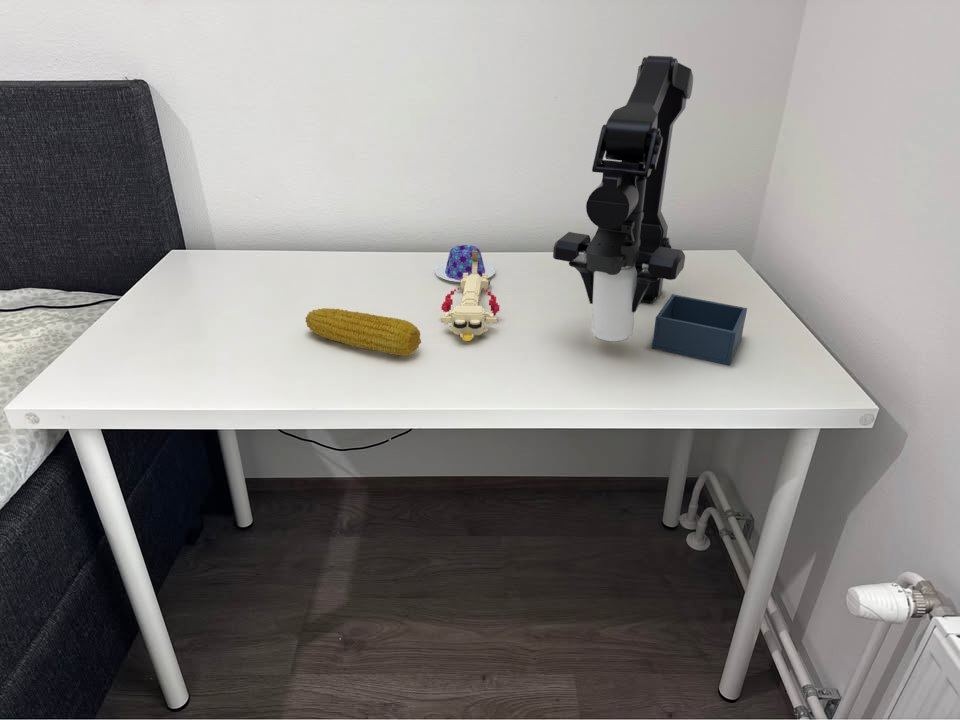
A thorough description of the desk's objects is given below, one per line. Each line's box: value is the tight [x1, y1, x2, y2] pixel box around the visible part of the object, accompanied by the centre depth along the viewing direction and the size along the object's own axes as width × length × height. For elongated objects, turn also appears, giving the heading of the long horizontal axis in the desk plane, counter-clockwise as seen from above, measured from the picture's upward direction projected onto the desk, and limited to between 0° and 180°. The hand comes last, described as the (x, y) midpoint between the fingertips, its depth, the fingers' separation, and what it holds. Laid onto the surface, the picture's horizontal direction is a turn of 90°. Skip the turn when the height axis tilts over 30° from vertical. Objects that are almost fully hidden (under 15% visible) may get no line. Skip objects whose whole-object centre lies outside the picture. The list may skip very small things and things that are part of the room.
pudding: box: [434, 244, 496, 283], centre depth 140 cm, size 12×12×5 cm
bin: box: [651, 293, 748, 366], centre depth 114 cm, size 12×10×6 cm
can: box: [591, 265, 637, 343], centre depth 109 cm, size 6×6×12 cm
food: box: [305, 307, 422, 357], centre depth 113 cm, size 21×6×6 cm, turn 66°
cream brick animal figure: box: [440, 251, 501, 342], centre depth 123 cm, size 10×9×25 cm
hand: (612, 307), depth 109 cm, fingers closed on can, 6 cm apart
